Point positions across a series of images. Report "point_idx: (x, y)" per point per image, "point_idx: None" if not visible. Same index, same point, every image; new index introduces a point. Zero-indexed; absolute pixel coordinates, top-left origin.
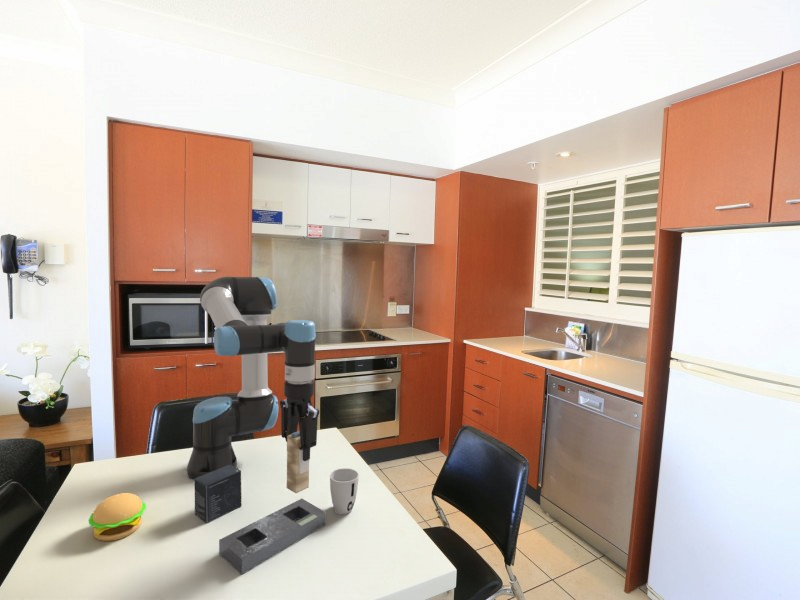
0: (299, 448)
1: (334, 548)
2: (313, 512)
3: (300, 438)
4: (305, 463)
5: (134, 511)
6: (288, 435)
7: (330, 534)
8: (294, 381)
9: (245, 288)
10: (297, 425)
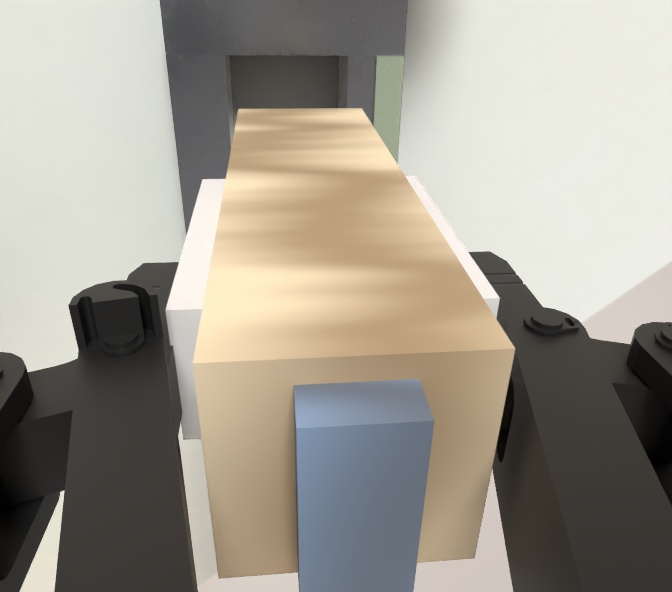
0: None
1: (555, 83)
2: (352, 38)
3: (504, 529)
4: None
5: None
6: (228, 568)
7: (472, 19)
8: None
9: None
10: (188, 543)
